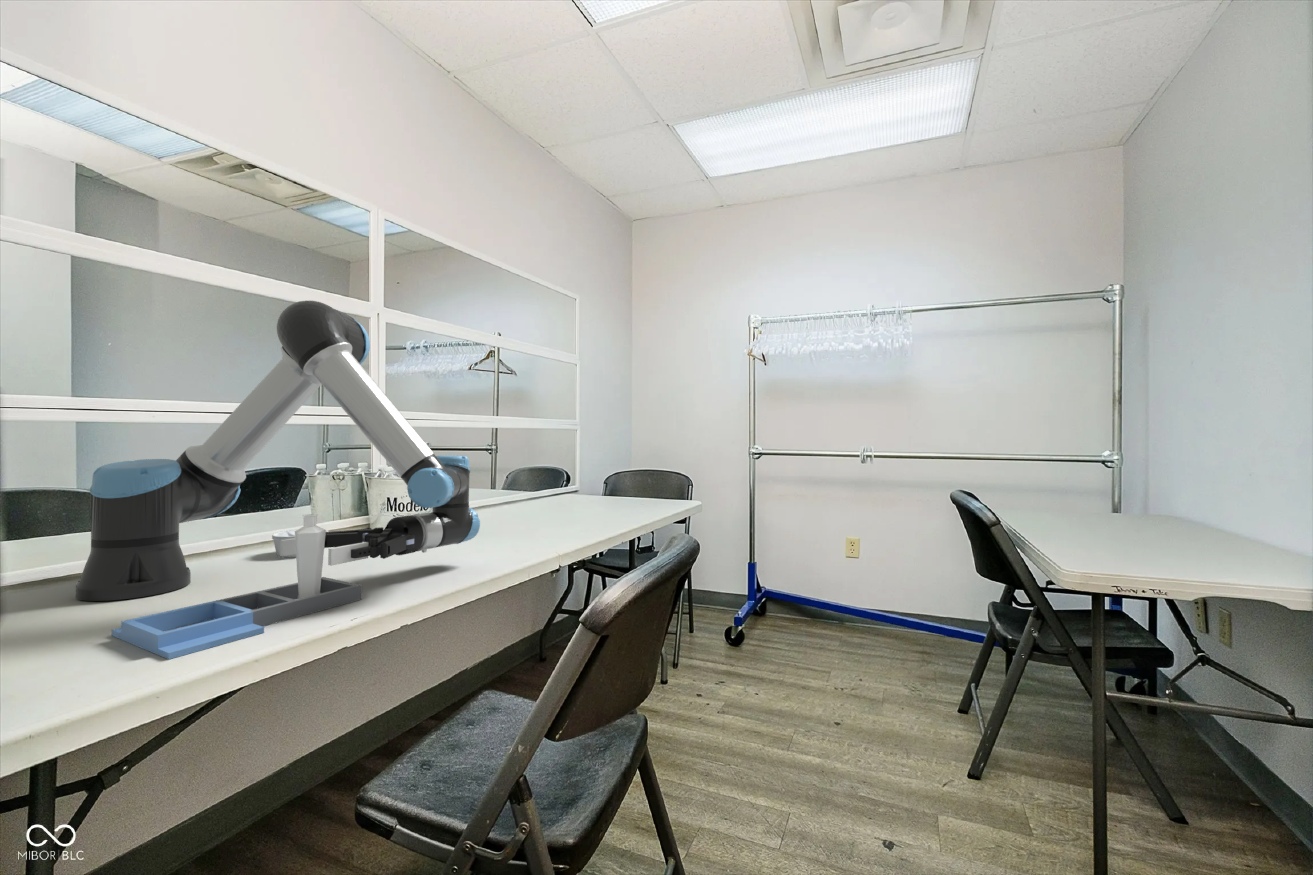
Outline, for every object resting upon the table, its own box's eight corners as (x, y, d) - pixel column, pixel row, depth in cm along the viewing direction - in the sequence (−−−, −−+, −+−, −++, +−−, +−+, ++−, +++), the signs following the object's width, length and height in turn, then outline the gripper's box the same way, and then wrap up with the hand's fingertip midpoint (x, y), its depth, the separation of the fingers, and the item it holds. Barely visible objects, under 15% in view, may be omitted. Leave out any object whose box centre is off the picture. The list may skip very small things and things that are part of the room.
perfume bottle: (301, 608, 90) (302, 517, 90) (288, 604, 92) (289, 515, 92) (330, 602, 94) (331, 514, 94) (316, 597, 96) (318, 512, 96)
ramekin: (260, 557, 127) (260, 534, 127) (301, 548, 138) (302, 527, 138) (299, 560, 124) (299, 537, 124) (338, 550, 135) (338, 529, 135)
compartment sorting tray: (313, 588, 102) (313, 574, 102) (372, 601, 94) (372, 587, 94) (111, 635, 77) (111, 617, 77) (168, 659, 69) (169, 639, 69)
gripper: (456, 559, 105) (351, 584, 86) (372, 545, 117) (262, 565, 98) (457, 520, 105) (352, 537, 86) (372, 510, 117) (263, 523, 98)
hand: (304, 552), depth 92 cm, fingers open, 13 cm apart
